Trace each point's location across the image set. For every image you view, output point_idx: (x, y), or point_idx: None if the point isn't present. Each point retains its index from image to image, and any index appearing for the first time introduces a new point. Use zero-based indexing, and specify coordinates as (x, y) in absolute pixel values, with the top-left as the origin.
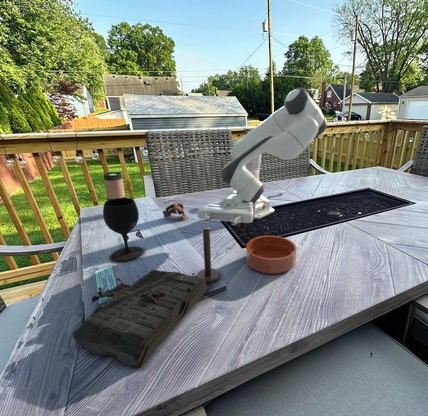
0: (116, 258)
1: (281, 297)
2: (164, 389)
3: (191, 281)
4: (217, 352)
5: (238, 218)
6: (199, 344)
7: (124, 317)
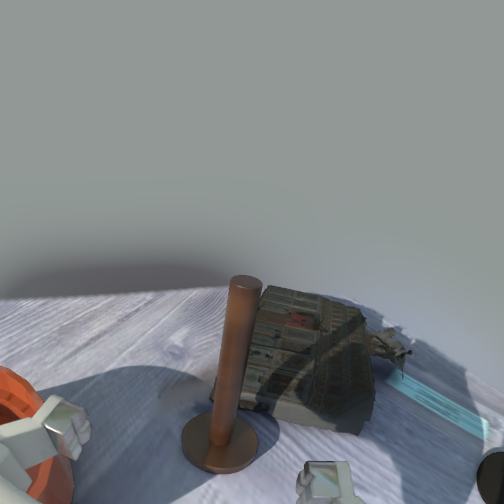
0: (502, 454)
1: (45, 349)
2: (228, 290)
3: None
4: (178, 304)
5: (15, 425)
6: (203, 313)
7: (315, 304)
